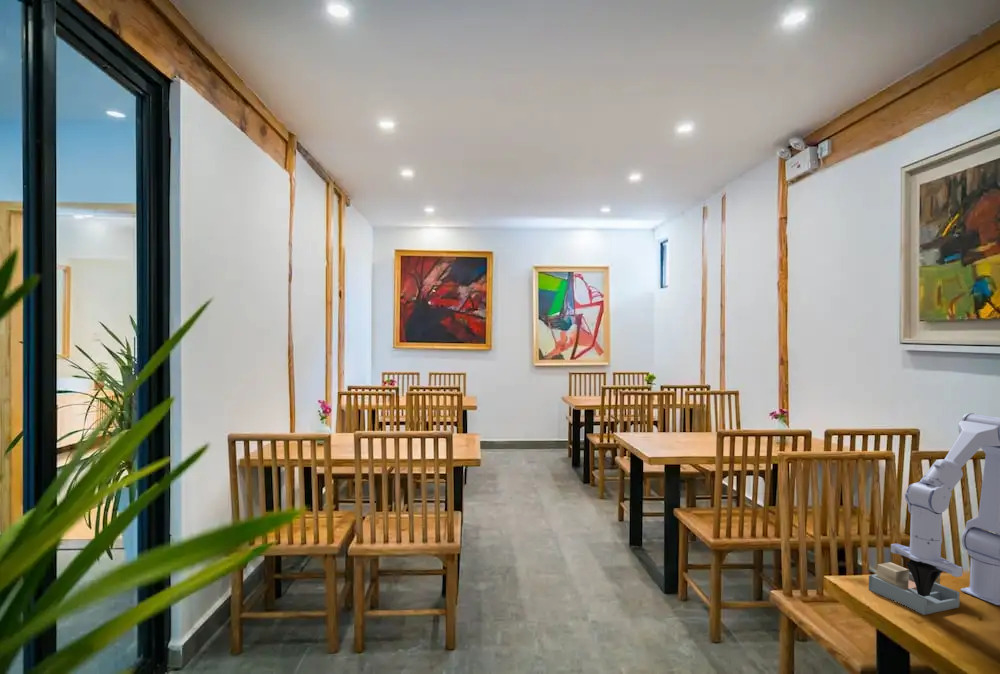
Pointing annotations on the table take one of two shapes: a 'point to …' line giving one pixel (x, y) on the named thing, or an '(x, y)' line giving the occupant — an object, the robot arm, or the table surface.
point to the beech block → (893, 574)
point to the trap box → (917, 595)
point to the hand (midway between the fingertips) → (923, 594)
